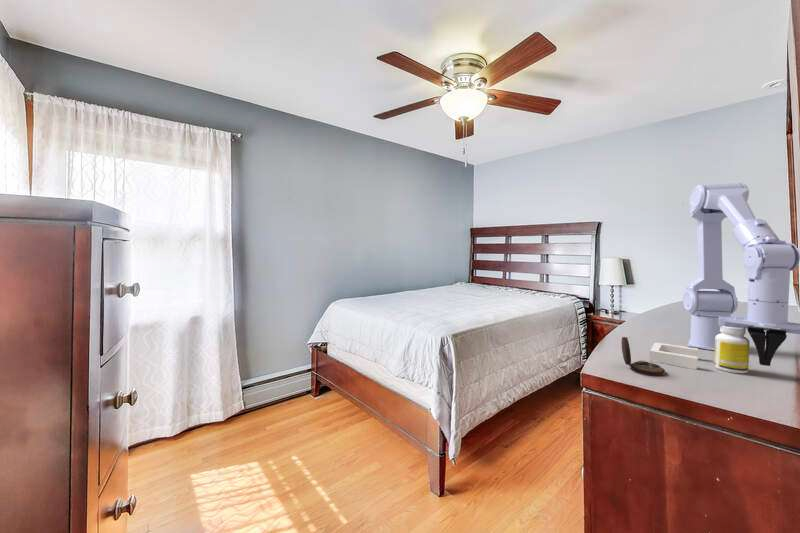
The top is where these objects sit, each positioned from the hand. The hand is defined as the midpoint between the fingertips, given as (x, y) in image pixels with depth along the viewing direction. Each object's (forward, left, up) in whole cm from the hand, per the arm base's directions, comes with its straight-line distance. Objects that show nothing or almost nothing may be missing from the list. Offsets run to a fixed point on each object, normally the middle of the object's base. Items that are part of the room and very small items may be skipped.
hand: (764, 364), depth 70 cm
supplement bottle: (0, -5, -3) cm, 6 cm away
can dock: (0, -14, -2) cm, 14 cm away
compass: (+13, -19, -3) cm, 24 cm away
